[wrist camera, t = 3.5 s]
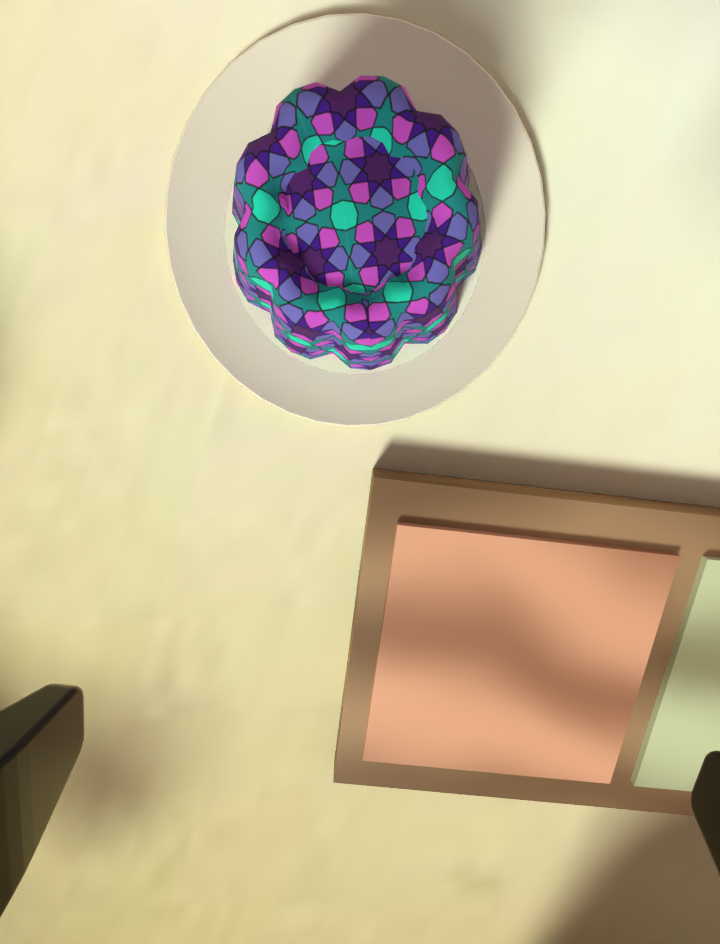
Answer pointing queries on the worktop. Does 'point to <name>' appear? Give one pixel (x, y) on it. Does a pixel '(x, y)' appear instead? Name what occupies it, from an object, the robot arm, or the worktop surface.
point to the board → (532, 644)
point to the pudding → (355, 217)
